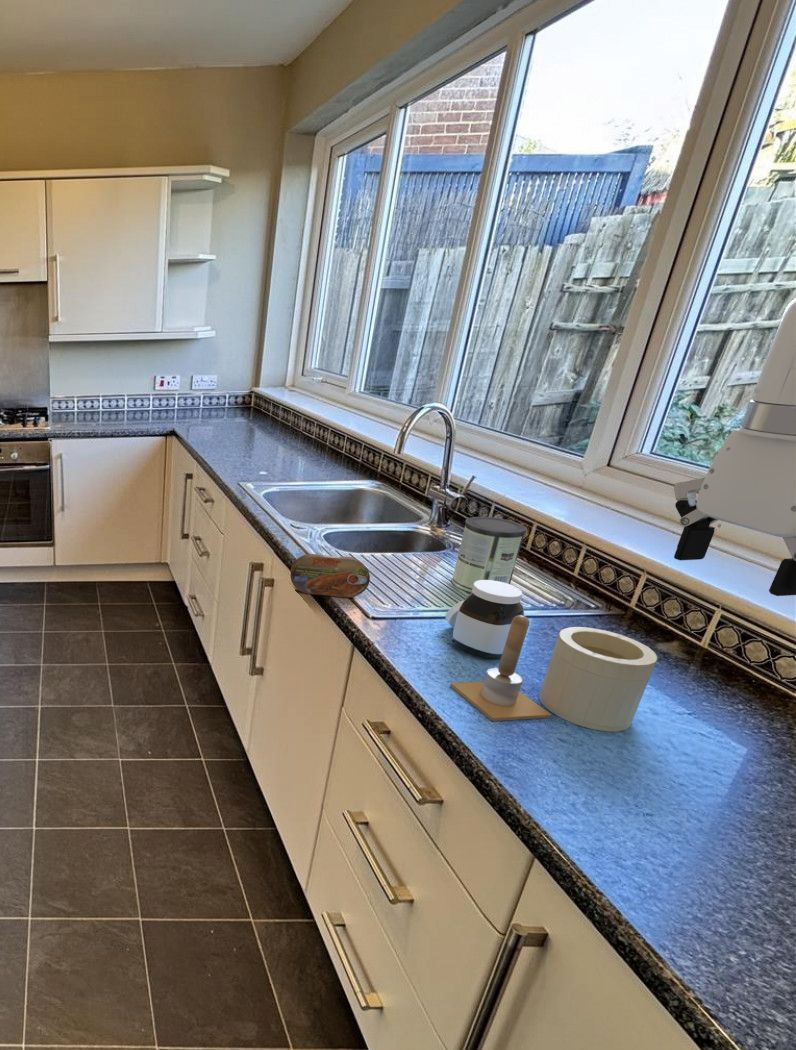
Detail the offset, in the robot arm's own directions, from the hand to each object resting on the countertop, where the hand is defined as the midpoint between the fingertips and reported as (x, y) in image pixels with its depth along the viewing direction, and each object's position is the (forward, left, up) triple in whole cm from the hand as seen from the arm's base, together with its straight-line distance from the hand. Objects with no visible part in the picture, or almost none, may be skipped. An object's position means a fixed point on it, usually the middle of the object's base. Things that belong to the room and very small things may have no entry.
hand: (733, 575), depth 69 cm
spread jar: (-2, -34, -28) cm, 44 cm away
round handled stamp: (+7, -17, -27) cm, 33 cm away
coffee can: (-20, -56, -28) cm, 66 cm away
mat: (+7, -17, -28) cm, 33 cm away
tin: (+14, -56, -28) cm, 64 cm away
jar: (-4, -14, -28) cm, 31 cm away
